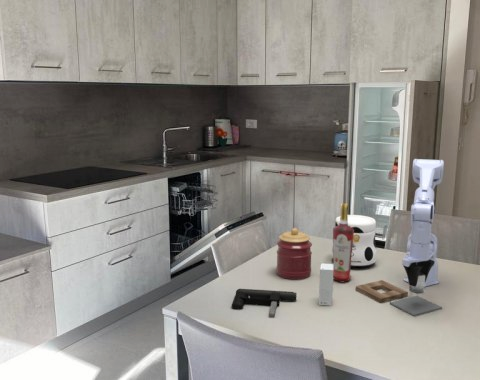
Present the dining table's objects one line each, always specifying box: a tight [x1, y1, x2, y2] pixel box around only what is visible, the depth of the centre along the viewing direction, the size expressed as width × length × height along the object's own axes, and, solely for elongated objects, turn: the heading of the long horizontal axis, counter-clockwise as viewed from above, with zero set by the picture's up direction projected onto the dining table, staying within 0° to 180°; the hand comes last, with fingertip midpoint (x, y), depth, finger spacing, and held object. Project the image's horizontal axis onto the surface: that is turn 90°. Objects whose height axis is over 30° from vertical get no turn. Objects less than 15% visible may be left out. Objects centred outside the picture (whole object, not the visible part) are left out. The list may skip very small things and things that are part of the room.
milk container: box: [331, 214, 378, 268], centre depth 191 cm, size 17×17×18 cm
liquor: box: [332, 202, 354, 283], centre depth 172 cm, size 7×7×28 cm
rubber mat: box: [389, 295, 443, 317], centre depth 152 cm, size 12×10×1 cm
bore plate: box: [355, 279, 409, 304], centre depth 163 cm, size 12×12×2 cm
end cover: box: [408, 272, 425, 295], centre depth 151 cm, size 4×4×6 cm
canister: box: [276, 227, 313, 280], centre depth 179 cm, size 13×13×18 cm
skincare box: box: [318, 263, 334, 306], centre depth 155 cm, size 6×4×12 cm
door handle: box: [231, 288, 297, 319], centre depth 153 cm, size 3×20×16 cm
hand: (417, 283), depth 151 cm, fingers closed on end cover, 4 cm apart
